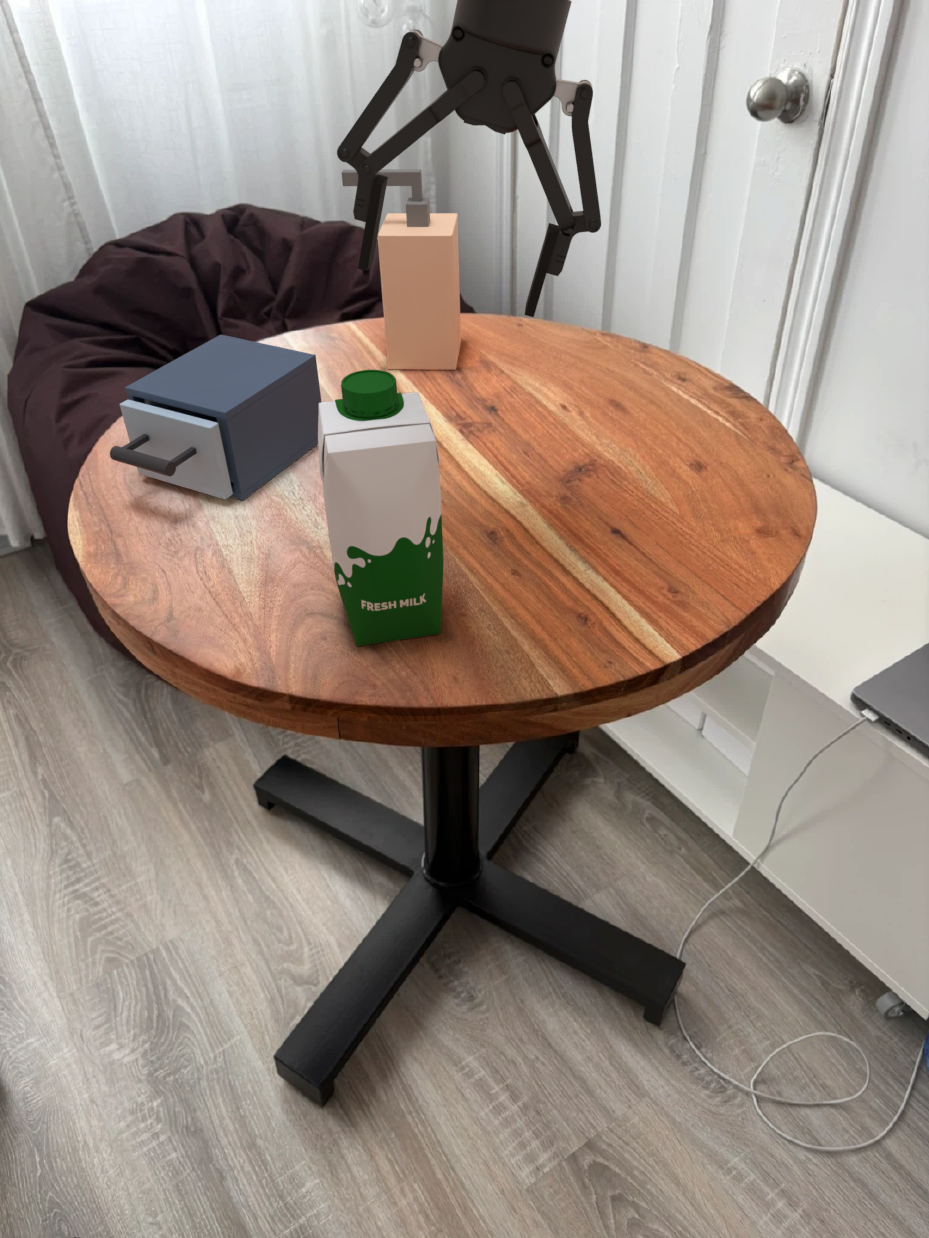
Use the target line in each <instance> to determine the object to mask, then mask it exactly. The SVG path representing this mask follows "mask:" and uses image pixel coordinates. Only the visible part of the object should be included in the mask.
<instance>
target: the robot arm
mask: <svg viewBox="0 0 929 1238" xmlns="http://www.w3.org/2000/svg"><path fill="white" fill-rule="evenodd" d="M572 3H573V2H572V0H456V5H455V9H454V10H455V11H454V15H453V20H452V25H451V28H450V33H449V35H448V38H447V40H446V41H445V43H444V44H442V43H439V42H437V41H435V40H433V39H430V38H429V37H425V36H424V34H423V33H422V31H420V30H419V29H417V28H415V29H414V28H413V29H410V30H409V31H408V32H405V34H404V35H403V37H402V39H401V42H400V46H399V50H398V53H397V57H396V59H395V63H394V66H393V67H392V69H391V70H390V72H389V73H388V74H387V76H386V77H385V79H384V80H383V82H382V83H381V85H380V86H379V88H378V89H377V90H376V92H375V94H374V95H373V96H372V98H371V99H370V101H369V102H368V103H367V105H366V106H365V108H364V109H363V111H362V112H361V113H360V115H359V116H358V118H357V119H356V121H355V122H354V123H353V126H351V128H350V130H349V131H348V133H347V134H346V136H345V137H344V138H343V140H342V141H341V143H340V144H339V146H338V148H337V149H336V156H337V158H338V159H339V161H341V162H342V163H346V164H348V165H349V166H350V167H352V168H353V170H356V171H357V173H358V184H357V186H356V191H355V199H354V204H353V208H352V209H353V210H352V212H353V218H354V220H355V221H359V222H363V223H364V230H363V236H362V242H361V247H360V254H359V260H358V266H357V269H358V270H362V271H365V272H368V270H369V269H370V267H371V266H372V264H373V262H374V259H375V253H376V248H377V243H378V233H379V231H380V225H381V219H382V213H383V207H384V202H385V196H386V190H387V187H388V186H387V180H388V177H387V176H383V175H380V174H378V172H379V171H380V170H381V169H384V168H385V167H386V166H388V165H389V164H390V163H391V162H392V161H394V160H395V159H396V158H397V157H398V156H400V155H402V153H404V152H405V151H406V150H407V149H408V148H410V147H411V146H412V145H413V144H415V143H416V142H417V141H418V140H419V139H421V138H422V137H424V135H426V134H427V133H428V132H430V130H431V129H433V128H434V127H435V126H437V125H438V124H439V123H441V122H442V121H444V120H445V119H446V118H447V117H449V115H451V114H452V113H453V112H455V113H456V115H457V117H458V118H460V119H461V121H463V123H464V124H467V125H471V126H475V127H476V126H485V127H487V128H488V129H490V130H491V131H493V132H495V133H498V134H500V135H501V134H502V135H504V136H505V135H507V134H510V133H513V132H516V131H517V130H518V133H519V136H520V138H521V140H522V143H523V145H524V147H525V149H526V151H527V154H528V156H529V158H530V160H531V163H532V165H533V168H534V170H535V173H536V175H537V177H538V180H539V182H540V184H541V187H542V190H543V192H544V194H545V197H546V200H547V202H548V204H549V206H550V209H551V211H552V213H553V217H554V219H555V221H556V224H555V223H551V222H548V226H547V228H546V232H545V235H544V239H543V242H542V246H541V250H540V252H539V255H538V256H539V258H538V260H537V263H536V267H535V271H534V274H533V278H532V281H531V285H530V288H529V292H528V295H527V299H526V303H525V309H524V316H528V317H530V318H534V317H535V314H536V311H537V307H538V305H539V301H540V297H541V293H542V290H543V287H544V283H545V280H546V276H547V274H549V275H552V276H556V277H559V276H560V274H561V273H563V269H564V266H565V262H566V260H567V256H568V253H569V250H570V247H571V244H572V240H573V238H574V237H575V236H576V235H578V234H580V233H591V234H594V233H595V234H596V233H597V232H599V230H600V229H601V227H602V215H601V209H600V201H599V200H600V199H599V193H598V185H597V177H596V171H595V163H594V157H593V156H594V155H593V149H592V139H591V133H590V132H591V131H590V125H589V120H590V119H589V118H590V113H591V108H592V102H593V98H594V89H593V85H592V83H591V81H590V80H589V79H588V80H587V79H582V80H580V81H573V80H566V79H562V78H561V79H559V78H557V75H556V63H557V59H558V55H559V51H560V47H561V44H562V40H563V35H564V32H565V29H566V24H567V21H568V19H569V18H568V17H569V14H570V9H571V6H572ZM431 62H437V64H438V69H439V72H440V74H441V76H442V79H443V82H444V84H445V87H446V90H445V91H444V92H442V94H440V95H439V96H437V98H435V100H433V101H432V102H431V103H429V104H428V105H427V106H426V107H425V108H424V109H422V111H420V112H419V113H417V114H416V115H415V116H414V117H413V118H411V119H410V120H409V121H408V122H407V123H406V124H405V125H403V126H402V127H401V128H400V129H398V130H397V131H396V132H395V133H393V134H392V135H391V136H390V137H389V138H388V139H387V140H385V141H383V143H381V145H379V146H378V147H377V148H375V149H374V150H373V151H372V152H371V153H370V152H369V151H368V150H366V149H365V148H363V147H364V145H365V143H366V142H367V140H368V139H369V138H370V137H371V135H372V133H373V132H374V131H375V129H376V128H377V126H378V125H379V124H380V122H381V121H382V119H383V118H384V117H385V115H386V114H387V112H388V111H389V109H390V108H391V106H392V105H393V104H394V102H395V101H396V99H397V98H398V97H399V95H400V94H401V92H402V91H403V90H404V88H405V87H406V85H407V84H408V83H409V81H410V80H411V78H412V76H413V75H414V73H415V72H417V73H421V72H423V71H425V69H426V68H427V67H428V65H429V64H430V63H431ZM554 97H555V98H557V99H559V101H560V103H561V110H562V113H563V114H564V115H565V116H568V117H571V134H572V142H573V149H574V156H575V157H574V158H575V163H576V170H577V177H578V178H577V179H578V184H579V185H578V186H579V192H580V199H581V206H582V210H578V211H574V209H573V206H572V205H571V202H570V199H569V197H568V195H567V192H566V189H565V187H564V184H563V182H562V179H561V177H560V175H559V171H558V169H557V166H556V164H555V161H554V159H553V157H552V155H551V153H550V149H549V147H548V145H547V142H546V139H545V137H544V133H543V131H542V127H541V125H540V123H539V120H538V117H537V115H536V114H537V113H538V112H539V111H540V110H541V109H543V108H544V107H545V106H546V105H547V104H548V103H549V102H550V101H551V100H552V99H553V98H554Z"/></svg>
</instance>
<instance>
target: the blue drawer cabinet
mask: <svg viewBox="0 0 929 1238" xmlns="http://www.w3.org/2000/svg"><path fill="white" fill-rule="evenodd" d="M317 363H318V362H317V355H316V354H312V353H308V352H305V351H299V350H296V349H290V348H286V347H280V346H277V345H271V344H268V343H267V344H266V343H262V342H257V341H253V340H250V339H249V340H248V339H244V338H239V337H235V336H229V335H225V334H219V335H217V336H216V337H213V338H212V339H210V340H208V341H206V342H204V343H203V344H201V345H199V346H197V347H196V348H194V349H192V350H190V351H188V352H187V353H185V354H182V355H181V356H179V357H177V358H176V359H174V360H172V361H170V362H168V363H167V364H164V365H163V366H160V367H159V368H157V369H155V370H154V371H152V372H150V373H148V374H146V375H144V376H142V377H141V378H139V379H137V380H135V381H134V382H132V383H130V384H129V385H128V384H127V386H125V387H124V389H125V392H126V397H127V400H132V401H136V402H140V403H144V404H145V402H144V399H146V400H150V401H154V402H158V403H162V404H165V405H169V406H173V407H177V408H181V409H185V410H189V411H193V412H196V413H200V414H204V415H208V416H212V417H216V418H220V419H221V424H222V429H223V434H224V439H225V444H226V449H227V453H228V458H229V463H230V468H231V473H232V478H233V483H232V482H231V487H232V492H233V494H232V495H231V496H230V497H229V498H232V499H236V500H240V501H242V502H243V501H245V500H246V499H247V498H249V497H250V496H251V495H252V494H254V493H255V492H257V491H258V490H259V489H261V488H262V487H263V486H265V485H266V484H267V483H268V482H269V481H271V480H272V479H273V478H275V477H276V476H277V475H279V474H281V472H283V471H284V470H286V469H287V468H288V467H290V466H291V465H292V464H293V463H294V462H297V460H299V459H300V458H301V457H303V456H304V455H305V454H306V453H308V452H309V451H310V450H312V449H313V448H314V447H316V446H318V416H319V403H321V402H323V400H322V394H321V387H320V380H319V379H320V378H319V371H318V364H317Z"/></svg>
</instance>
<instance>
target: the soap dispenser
mask: <svg viewBox="0 0 929 1238" xmlns="http://www.w3.org/2000/svg"><path fill="white" fill-rule="evenodd" d="M378 174H380V175H383V176H387V177H388V180H387V186H386V187H411V196H410V197H408V198H407V200H406V202H405V213H404V212H403V213H402V212H399V213H398V212H397V213H395V212H393V213H392V212H389V213H387V214H386V216H385V219H384V220H383V223H382V225H381V227H380V228H379V231H378V236H377V244H378V245H377V247H378V259H379V260H378V261H379V272H380V287H381V300H382V310H383V312H382V313H383V324H384V335H385V349H386V363H387V369H388V370H418V371H419V370H420V371H423V370H425V371H426V370H427V371H428V370H429V371H430V370H431V371H456V370H457V366H458V360H459V355H460V349H461V345H462V335H461V334H462V331H461V330H462V329H461V292H460V291H461V290H460V289H461V287H460V253H459V252H460V251H459V250H460V249H459V214H458V212H450V213H449V212H445V213H444V212H441V213H440V212H437V213H436V212H433V213H432V212H431V210H430V209H431V208H430V207H431V206H430V197H428V196H424V195H423V175H422V174H423V173H422V169H421V168H402V169H399V168H397V169H392V168H389V169H384V168H382V169H381V170H380V171H379V172H378ZM341 183H342V187H357V184H358V173H357V171H356V170H355V169H342V171H341Z"/></svg>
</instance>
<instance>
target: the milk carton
mask: <svg viewBox="0 0 929 1238" xmlns="http://www.w3.org/2000/svg"><path fill="white" fill-rule="evenodd" d="M340 388H341V398H337V399H334V400H333V401H322V402H321V403H319V416H318V444H317V447H318V449H317V450H318V451H317V452H318V465H319V475H320V480H321V482H322V495H323V502H324V509H325V517H326V524H327V533H328V539H329V547H330V554H331V561H332V567H333V573H334V577H335V582H336V585H337V588H338V589H337V590H338V592H339V595H340V599H341V603H342V605H343V608H344V611H345V615H346V617H347V620H348V623H349V626H350V631H351V633H352V637H353V639H354V643H355V646H356V647H362V646H367V645H375V644H381V643H388V642H394V641H395V642H396V641H402V640H408V639H414V638H421V637H428V636H436V635H441V634H442V633H441V631H442V613H443V612H442V610H443V588H444V570H445V569H444V565H445V564H444V541H443V540H444V538H443V513H442V492H441V491H442V490H441V489H442V488H441V477H440V469H439V466H441V460H440V454H439V448H438V442H437V439H436V435H435V431H434V428H433V424H432V421H431V418H430V417H429V415H428V414H427V411H426V409H425V406H424V404H423V401H422V398H421V396H420V395H419V392H418V391H412V392H406V393H402V392H398V385H397V378H396V376H395V375H394V374H392V373H391V372H389V371H385V370H380V369H363V370H358V371H357V370H356V371H353V372H351V373H349V374H348V375H346V376H344V377H343V378H342V379H341V382H340Z"/></svg>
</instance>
